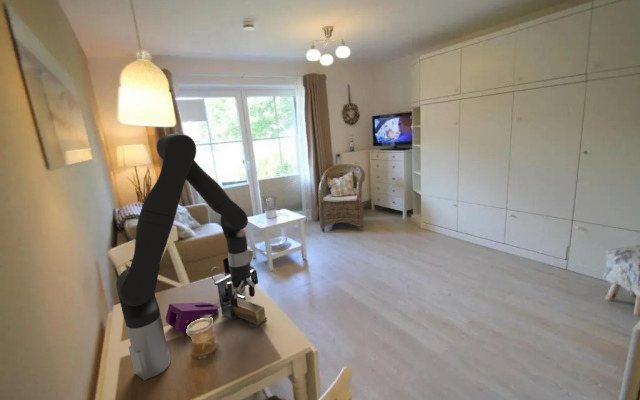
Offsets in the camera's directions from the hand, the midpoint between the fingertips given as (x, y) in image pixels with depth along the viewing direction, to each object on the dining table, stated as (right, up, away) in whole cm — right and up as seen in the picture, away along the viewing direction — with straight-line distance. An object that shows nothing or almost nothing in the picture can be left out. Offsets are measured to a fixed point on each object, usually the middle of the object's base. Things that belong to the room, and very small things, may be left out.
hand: (243, 301), depth 118 cm
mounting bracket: (-19, -9, +3) cm, 21 cm away
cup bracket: (-5, -7, +6) cm, 10 cm away
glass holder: (-12, -3, +23) cm, 27 cm away
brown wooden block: (+1, -6, +1) cm, 7 cm away
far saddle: (+6, -8, -2) cm, 10 cm away
